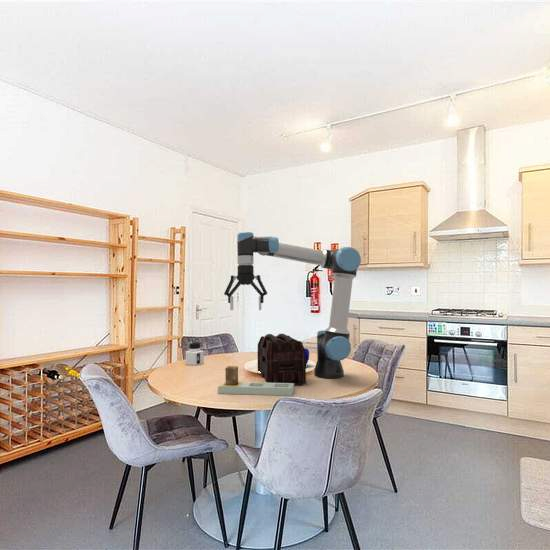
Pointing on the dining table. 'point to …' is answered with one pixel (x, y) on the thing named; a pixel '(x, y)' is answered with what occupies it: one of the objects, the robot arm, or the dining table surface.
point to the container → (194, 354)
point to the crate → (282, 359)
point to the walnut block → (231, 375)
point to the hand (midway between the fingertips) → (245, 310)
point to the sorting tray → (257, 388)
